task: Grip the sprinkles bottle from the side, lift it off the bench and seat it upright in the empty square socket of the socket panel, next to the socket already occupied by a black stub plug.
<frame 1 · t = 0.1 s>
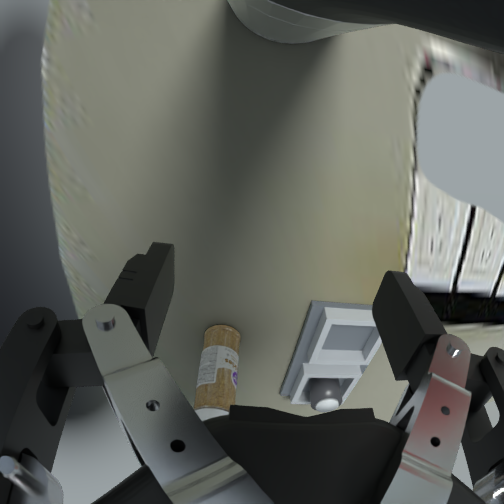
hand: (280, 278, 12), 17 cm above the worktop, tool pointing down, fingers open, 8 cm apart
sprinkles bottle: (222, 333, 39), on the worktop
socket panel: (333, 355, 42), on the worktop
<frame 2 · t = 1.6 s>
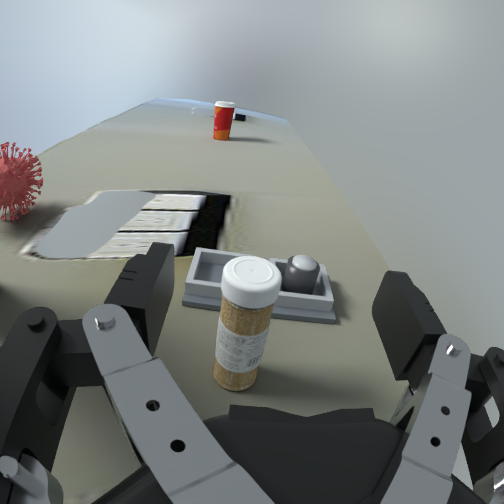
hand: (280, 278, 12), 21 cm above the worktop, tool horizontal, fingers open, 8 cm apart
sprinkles bottle: (234, 376, 32), on the worktop
virus model: (14, 217, 51), on the worktop
paper cup: (220, 139, 116), on the worktop
socket panel: (260, 288, 45), on the worktop
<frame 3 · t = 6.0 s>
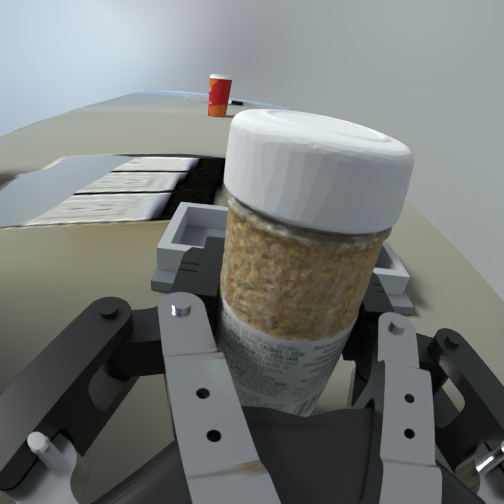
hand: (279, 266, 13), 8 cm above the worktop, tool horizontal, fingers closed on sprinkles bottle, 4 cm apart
sprinkles bottle: (252, 427, 14), on the worktop, touching gripper
paper cup: (216, 116, 99), on the worktop
socket panel: (285, 263, 27), on the worktop
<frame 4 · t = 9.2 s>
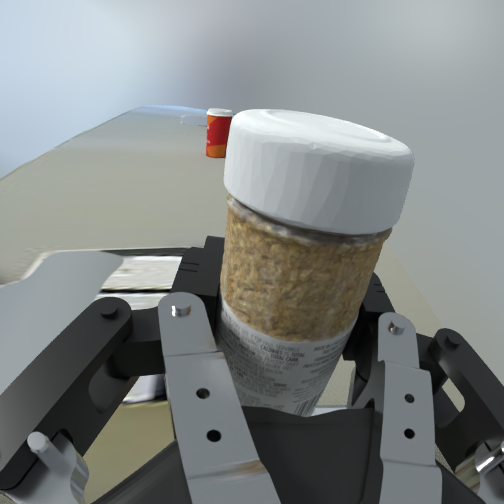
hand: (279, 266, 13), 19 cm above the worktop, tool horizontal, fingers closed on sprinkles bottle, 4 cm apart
sprinkles bottle: (252, 427, 14), point 11 cm above the worktop, touching gripper
paper cup: (215, 156, 94), on the worktop
when the fingers open (9 cm above the worktop, at t = 12.3 s): sprinkles bottle stays where it is, resting on socket panel.
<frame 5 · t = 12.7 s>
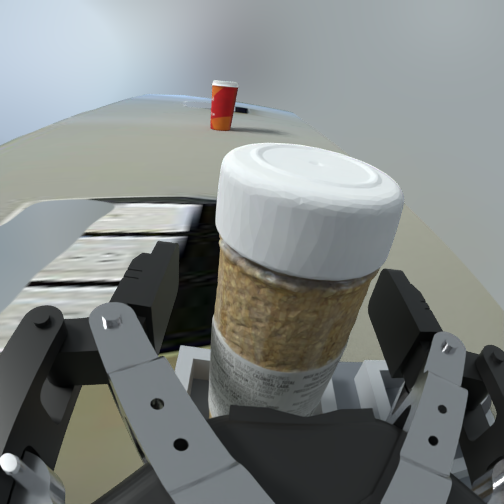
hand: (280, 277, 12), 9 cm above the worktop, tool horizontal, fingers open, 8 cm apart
sprinkles bottle: (249, 438, 15), point 1 cm above the worktop, touching socket panel
paper cup: (220, 129, 88), on the worktop
socket panel: (346, 441, 15), on the worktop
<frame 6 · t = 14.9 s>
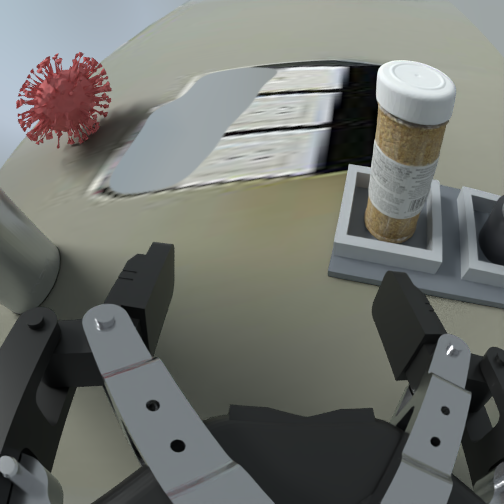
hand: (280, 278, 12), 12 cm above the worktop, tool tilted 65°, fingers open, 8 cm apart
sprinkles bottle: (389, 224, 25), point 1 cm above the worktop, touching socket panel
virus model: (86, 137, 44), on the worktop
socket panel: (447, 239, 24), on the worktop
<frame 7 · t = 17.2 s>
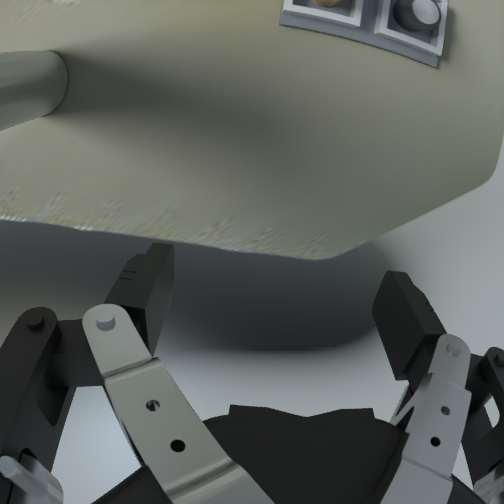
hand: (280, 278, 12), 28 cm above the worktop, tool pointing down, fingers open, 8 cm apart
socket panel: (368, 2, 27), on the worktop
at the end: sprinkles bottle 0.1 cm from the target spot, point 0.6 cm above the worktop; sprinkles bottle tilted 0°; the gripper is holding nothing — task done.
